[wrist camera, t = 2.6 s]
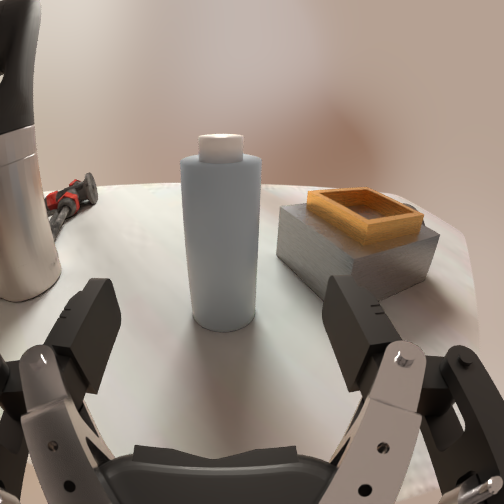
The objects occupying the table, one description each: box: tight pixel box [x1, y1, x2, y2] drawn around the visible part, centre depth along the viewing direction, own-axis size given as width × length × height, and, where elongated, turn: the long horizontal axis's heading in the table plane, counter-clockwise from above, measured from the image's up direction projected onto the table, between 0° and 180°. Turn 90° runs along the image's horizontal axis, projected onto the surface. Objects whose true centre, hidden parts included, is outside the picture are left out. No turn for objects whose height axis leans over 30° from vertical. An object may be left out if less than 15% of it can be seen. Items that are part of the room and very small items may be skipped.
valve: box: [44, 173, 98, 240], centre depth 42 cm, size 6×26×15 cm
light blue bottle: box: [180, 134, 262, 332], centre depth 22 cm, size 6×6×15 cm
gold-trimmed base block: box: [276, 187, 440, 301], centre depth 30 cm, size 16×12×8 cm
